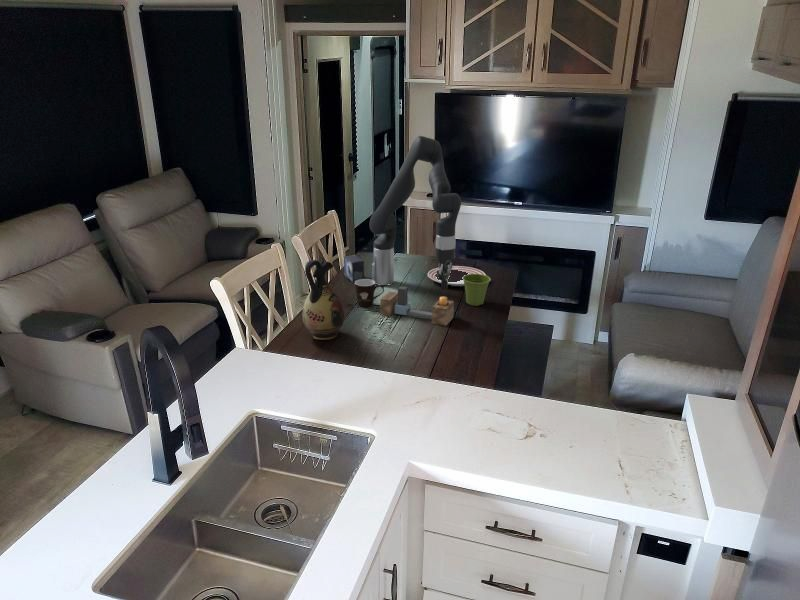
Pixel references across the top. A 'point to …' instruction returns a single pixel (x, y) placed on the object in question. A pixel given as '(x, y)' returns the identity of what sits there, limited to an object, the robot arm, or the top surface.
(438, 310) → the stand
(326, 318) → the ceramic jug
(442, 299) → the button
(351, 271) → the small box
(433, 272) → the dinner plate
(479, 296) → the plant pot
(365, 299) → the coffee mug
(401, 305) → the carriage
